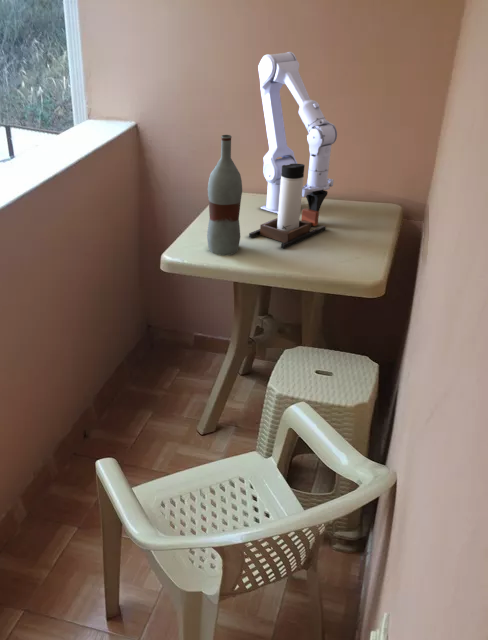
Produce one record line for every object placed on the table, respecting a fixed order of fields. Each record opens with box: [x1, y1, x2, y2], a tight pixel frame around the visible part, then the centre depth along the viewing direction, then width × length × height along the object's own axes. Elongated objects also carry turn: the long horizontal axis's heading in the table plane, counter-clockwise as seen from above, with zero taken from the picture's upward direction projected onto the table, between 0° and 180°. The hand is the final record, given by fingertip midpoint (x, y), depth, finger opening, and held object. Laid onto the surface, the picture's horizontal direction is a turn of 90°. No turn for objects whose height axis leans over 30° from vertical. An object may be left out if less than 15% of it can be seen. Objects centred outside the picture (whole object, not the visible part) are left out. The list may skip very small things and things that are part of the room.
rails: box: [248, 225, 327, 249], centre depth 191 cm, size 20×13×1 cm, turn 136°
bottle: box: [206, 134, 243, 256], centre depth 173 cm, size 9×9×30 cm
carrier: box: [259, 207, 320, 243], centre depth 192 cm, size 18×10×4 cm, turn 136°
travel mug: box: [277, 163, 305, 232], centre depth 186 cm, size 6×7×20 cm
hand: (313, 215), depth 197 cm, fingers closed
